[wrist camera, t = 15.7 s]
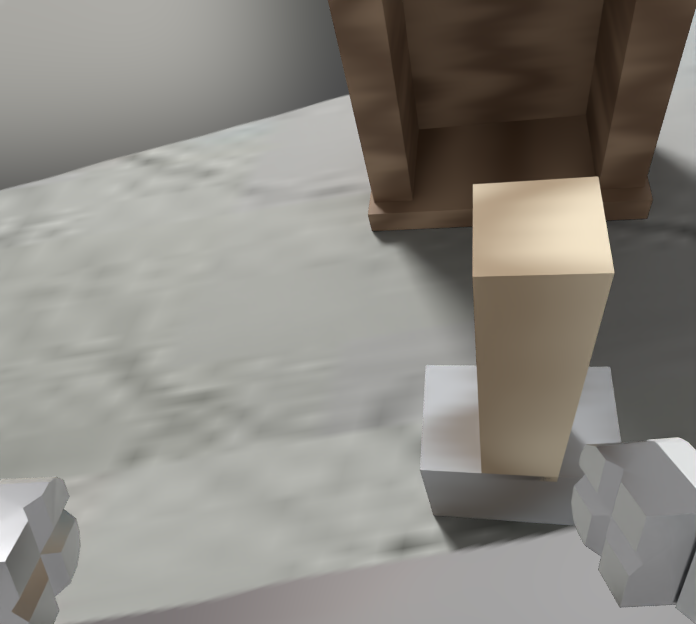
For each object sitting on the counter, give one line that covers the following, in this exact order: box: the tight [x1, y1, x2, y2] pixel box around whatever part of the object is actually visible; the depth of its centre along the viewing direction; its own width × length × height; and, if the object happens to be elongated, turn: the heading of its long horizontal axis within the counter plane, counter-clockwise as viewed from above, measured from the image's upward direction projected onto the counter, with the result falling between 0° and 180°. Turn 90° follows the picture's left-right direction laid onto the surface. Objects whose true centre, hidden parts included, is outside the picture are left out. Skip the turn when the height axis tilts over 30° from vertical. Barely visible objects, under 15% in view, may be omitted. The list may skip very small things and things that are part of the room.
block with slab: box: [420, 177, 621, 526], centre depth 19 cm, size 7×18×4 cm
